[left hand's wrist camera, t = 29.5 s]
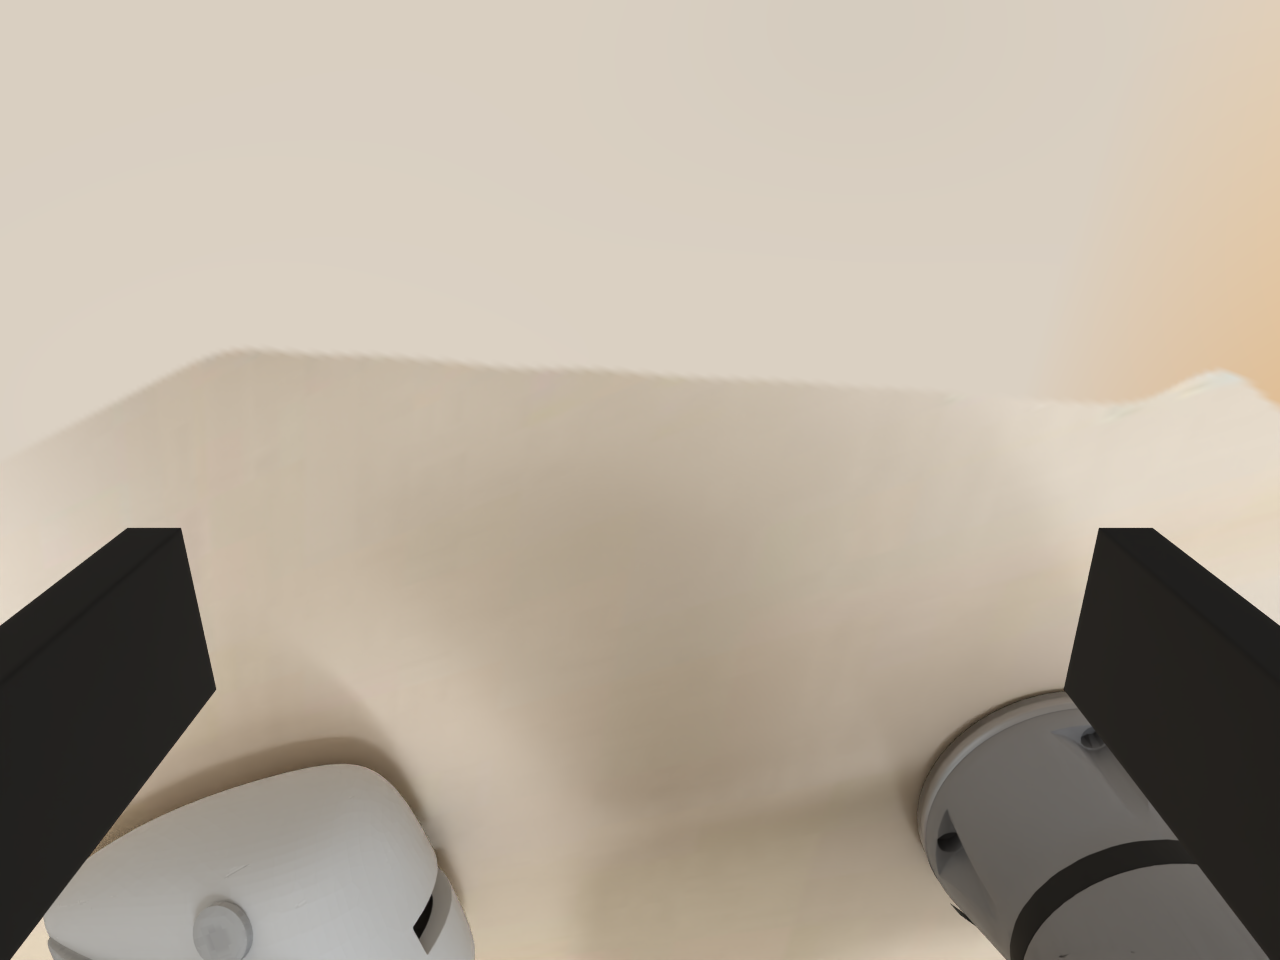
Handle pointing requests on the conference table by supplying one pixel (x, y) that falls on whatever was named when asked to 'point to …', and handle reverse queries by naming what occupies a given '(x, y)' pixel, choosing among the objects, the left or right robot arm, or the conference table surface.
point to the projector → (268, 880)
